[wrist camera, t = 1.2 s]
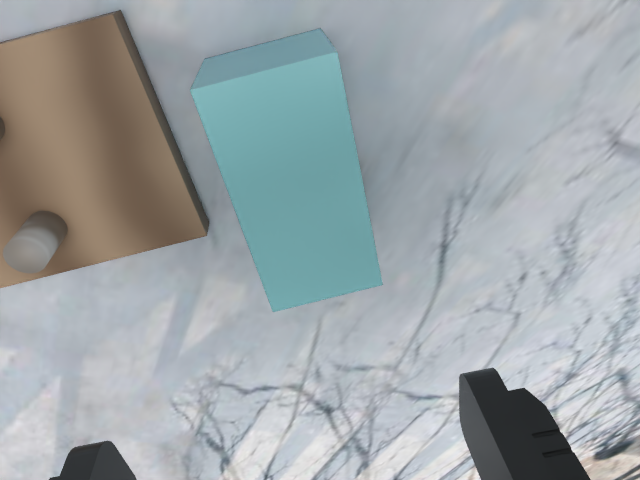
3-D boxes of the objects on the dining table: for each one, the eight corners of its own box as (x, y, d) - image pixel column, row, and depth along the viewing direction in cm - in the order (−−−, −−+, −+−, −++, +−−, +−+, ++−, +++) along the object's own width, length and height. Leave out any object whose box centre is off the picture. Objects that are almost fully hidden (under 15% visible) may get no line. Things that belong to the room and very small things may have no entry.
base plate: (120, 9, 22) (92, 24, 18) (209, 222, 29) (201, 265, 25) (-200, 96, 23) (-291, 126, 19) (-42, 286, 29) (-86, 337, 25)
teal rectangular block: (320, 28, 24) (337, 51, 19) (362, 227, 30) (382, 285, 25) (204, 58, 24) (190, 90, 19) (270, 250, 30) (273, 311, 25)
